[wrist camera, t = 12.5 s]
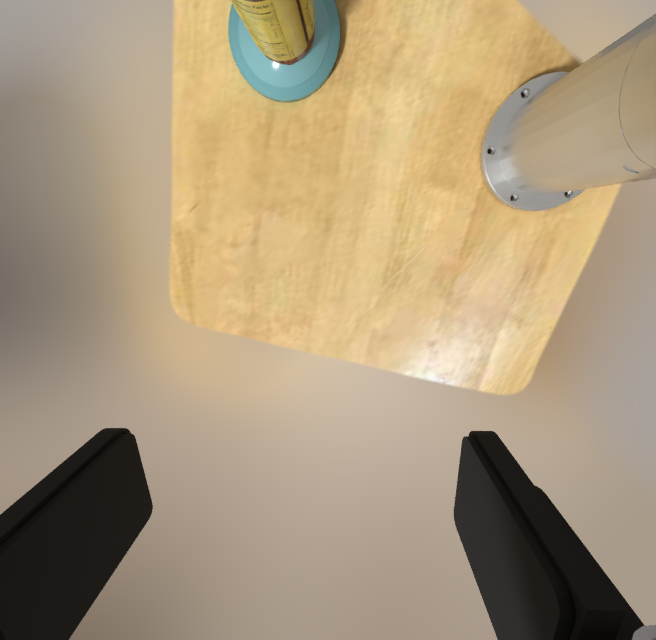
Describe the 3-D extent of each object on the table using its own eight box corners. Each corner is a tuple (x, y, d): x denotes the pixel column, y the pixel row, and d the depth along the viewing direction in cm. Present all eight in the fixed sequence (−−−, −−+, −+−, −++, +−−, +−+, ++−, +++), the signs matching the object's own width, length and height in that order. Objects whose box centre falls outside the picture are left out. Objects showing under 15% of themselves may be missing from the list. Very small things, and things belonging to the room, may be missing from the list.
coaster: (336, -41, 28) (336, -50, 28) (343, 96, 32) (343, 92, 31) (222, -25, 29) (219, -33, 28) (240, 107, 32) (237, 104, 32)
